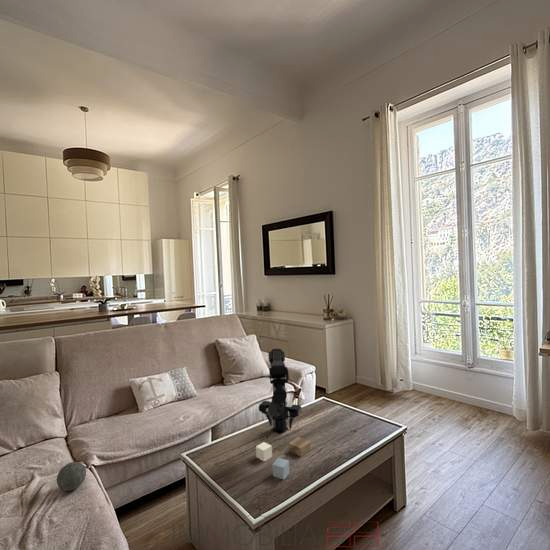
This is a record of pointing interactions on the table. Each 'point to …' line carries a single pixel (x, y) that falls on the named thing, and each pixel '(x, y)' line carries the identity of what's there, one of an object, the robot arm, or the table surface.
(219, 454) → the table surface
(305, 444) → the brown wooden block
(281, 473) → the slate cube
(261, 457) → the cream cube
